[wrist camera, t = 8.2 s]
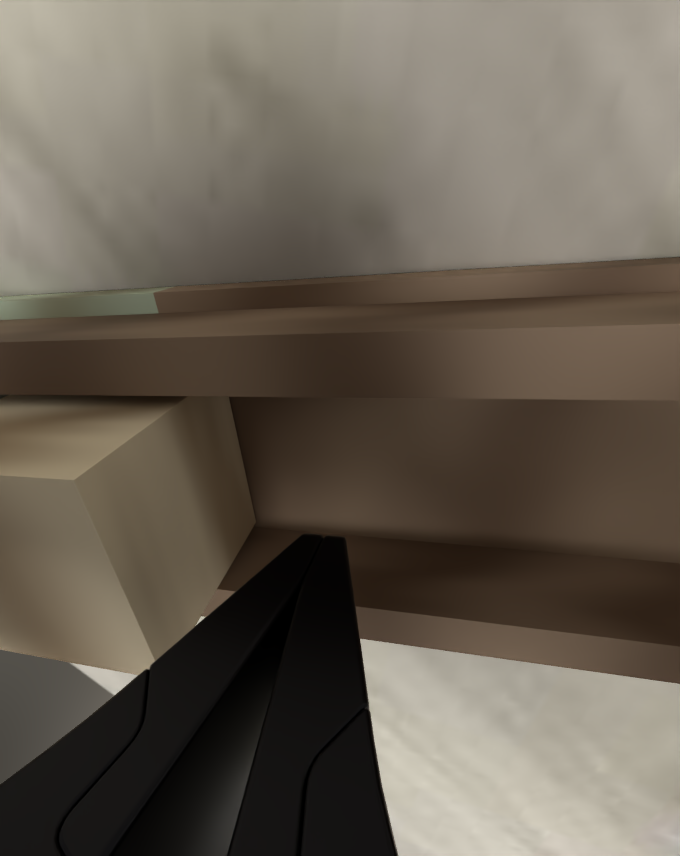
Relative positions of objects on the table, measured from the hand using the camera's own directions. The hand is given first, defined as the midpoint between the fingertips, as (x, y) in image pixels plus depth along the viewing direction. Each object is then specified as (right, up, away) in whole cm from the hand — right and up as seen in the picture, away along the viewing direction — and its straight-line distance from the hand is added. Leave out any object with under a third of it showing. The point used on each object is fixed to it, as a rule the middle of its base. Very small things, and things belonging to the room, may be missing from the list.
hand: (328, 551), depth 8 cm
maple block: (-5, +2, +4) cm, 7 cm away
